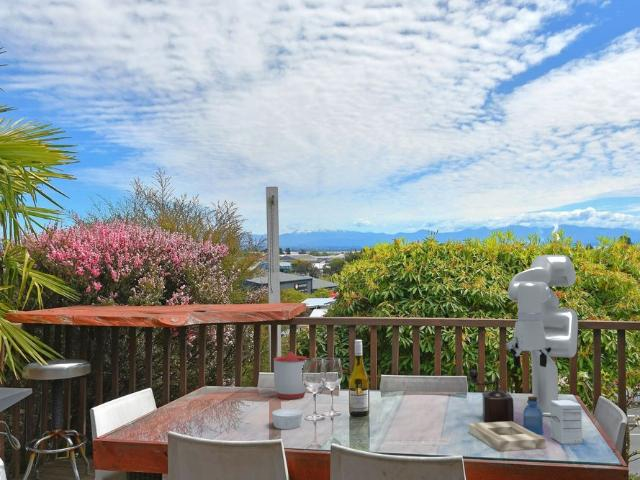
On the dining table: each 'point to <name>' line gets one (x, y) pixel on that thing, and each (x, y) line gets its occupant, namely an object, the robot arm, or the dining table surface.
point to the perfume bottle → (533, 416)
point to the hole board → (507, 436)
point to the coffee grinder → (495, 402)
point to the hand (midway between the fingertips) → (530, 366)
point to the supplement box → (566, 422)
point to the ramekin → (287, 418)
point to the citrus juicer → (289, 376)
